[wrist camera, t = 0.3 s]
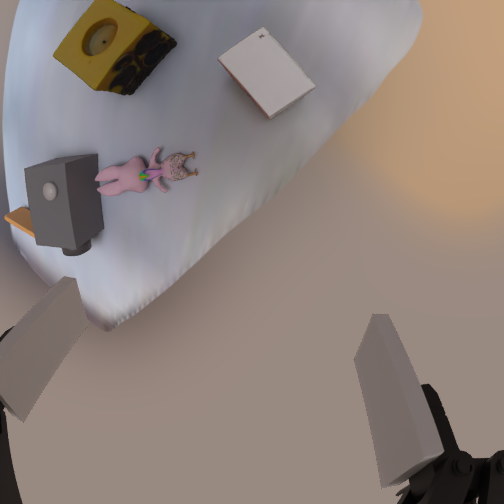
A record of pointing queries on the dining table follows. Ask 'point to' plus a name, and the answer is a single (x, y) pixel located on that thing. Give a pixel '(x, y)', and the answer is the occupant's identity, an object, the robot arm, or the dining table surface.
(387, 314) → the robot arm
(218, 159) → the dining table surface
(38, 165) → the camera body
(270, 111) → the small box
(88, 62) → the candle
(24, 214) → the side door
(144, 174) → the pink creature figurine
